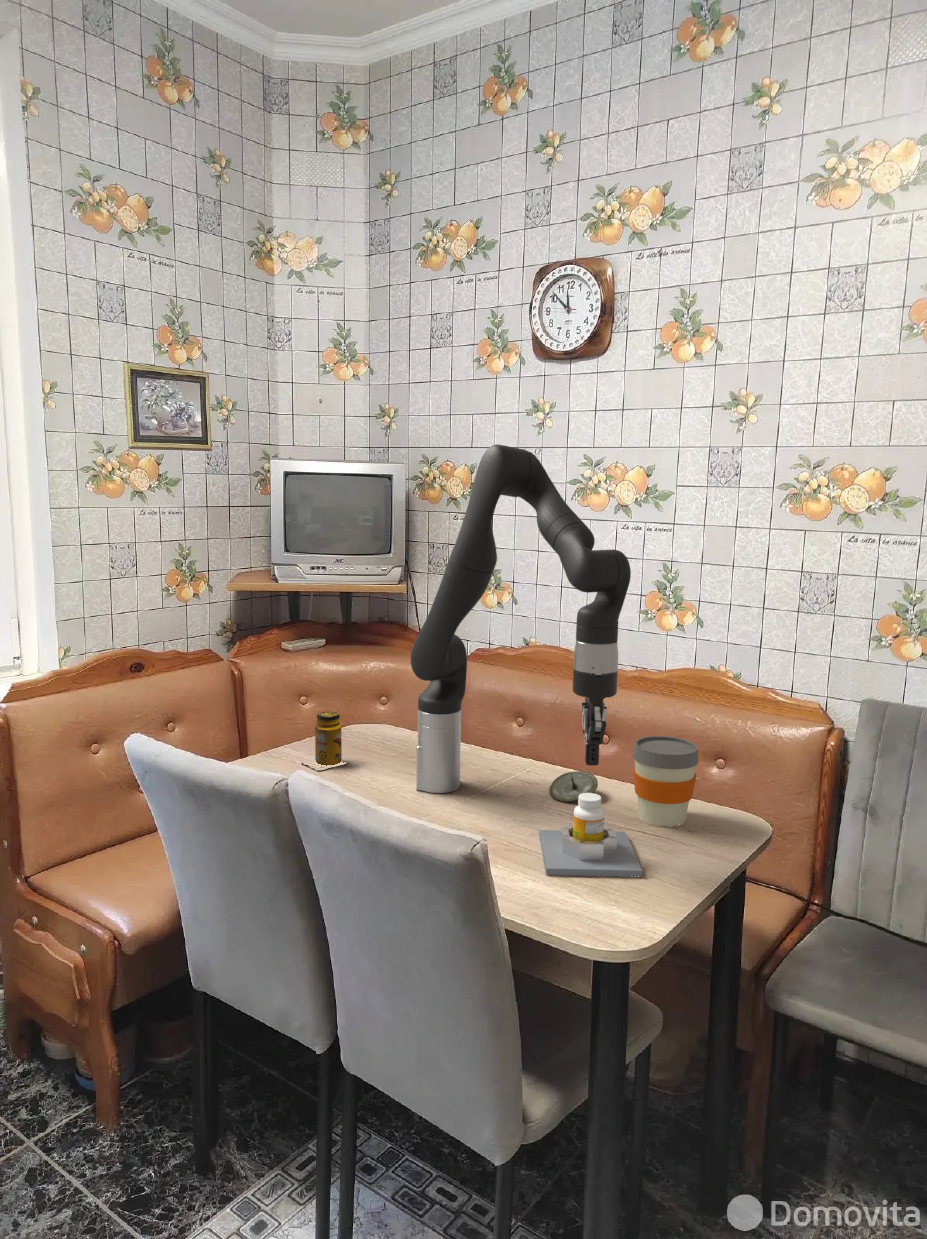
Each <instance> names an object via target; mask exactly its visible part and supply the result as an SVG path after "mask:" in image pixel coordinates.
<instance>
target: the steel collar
mask: <svg viewBox="0 0 927 1239" xmlns="http://www.w3.org/2000/svg"><path fill="white" fill-rule="evenodd" d="M560 830H561V835H560V844H561V849H562V853H563V854H566V855H568V856H570V857H573V858H575V859H578V860H580V861H604V860H606V859H608V858H610V857H612V856H614V855H616V854H617V837H616V834H615V829H614V828H613V827H612V828H611V827H610V826H609V827H608V826H607V825H604V839H603V840H602V841H600V842H598V841H581V840H579V839H576V838H574V837H573V822H572V823H570V824H567V825H565V826H563V827H561V828H560Z"/></svg>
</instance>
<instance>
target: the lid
mask: <svg viewBox="0 0 927 1239" xmlns="http://www.w3.org/2000/svg"><path fill="white" fill-rule="evenodd" d="M598 784H599V783H598V779H597V777H596V776H595V775H594V774H592V773H591V772H588V771H583V770H578V771H577V770H576V771H569V772H568V771H567V772H565V773H564V772H563V773H562V774H561V775H559V776H557V777H556V778H555V779H554V780H553V781H552V782H551V784H550V785H549V789H548V792H549V795H550V796H551V797H552V798H553V799H555V800H556V801H560V802H563V803H567V802H568V803H571V802H578V797H579V795H580V794H582V793H594V794H595V791H597V789H598Z"/></svg>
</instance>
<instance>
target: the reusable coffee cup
mask: <svg viewBox="0 0 927 1239" xmlns="http://www.w3.org/2000/svg"><path fill="white" fill-rule="evenodd" d="M632 757H633V759H634V768H633V771H632V772H633V784H634V792H635V794H636V795H637V796H636V797H637V806H638V807H637V808H638V817H640V818H639V819H640V820H641V821H642V822H644V823H646V824H648V825H651V824H654V825H653V826H655V825H658V826H657V827H661V826H675V827H677V826H676V825H679V824H682V825H683V823H684V824H685V823H686V820H687V819H686V818H687V813H688V809H689V804H690V801H691V800H692V799H693V795H694V789H695V784H696V780H697V775H696V773H695V772H696V767H697V765H698V764H699V747H698V745H697V744H696V743H694V742H692V741H690V740H687V739H684V738H679V737H675V736H674V737H673V736H664V735H652V736H651V735H650V736H643V737H640V738H637V739H636V740H635V741H634V746H633V753H632Z"/></svg>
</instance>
